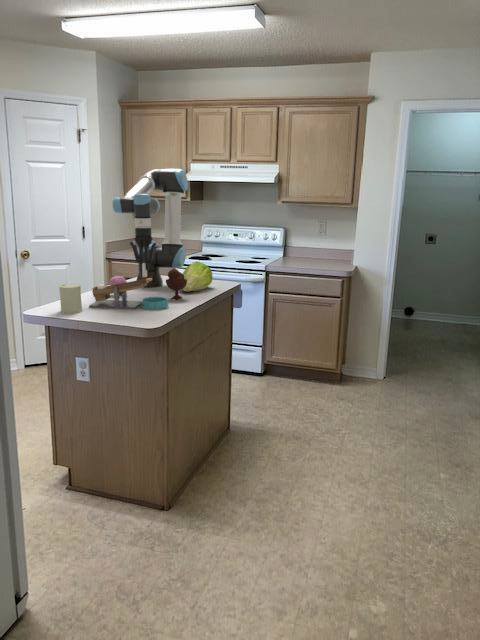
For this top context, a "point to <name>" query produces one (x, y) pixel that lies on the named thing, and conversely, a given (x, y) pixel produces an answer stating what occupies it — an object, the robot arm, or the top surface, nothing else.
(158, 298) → the teal bowl
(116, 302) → the chute stand
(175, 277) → the ice cream bowl
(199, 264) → the lettuce
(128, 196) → the robot arm
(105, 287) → the ball
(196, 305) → the top surface
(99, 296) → the chute
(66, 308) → the can
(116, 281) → the cupcake
